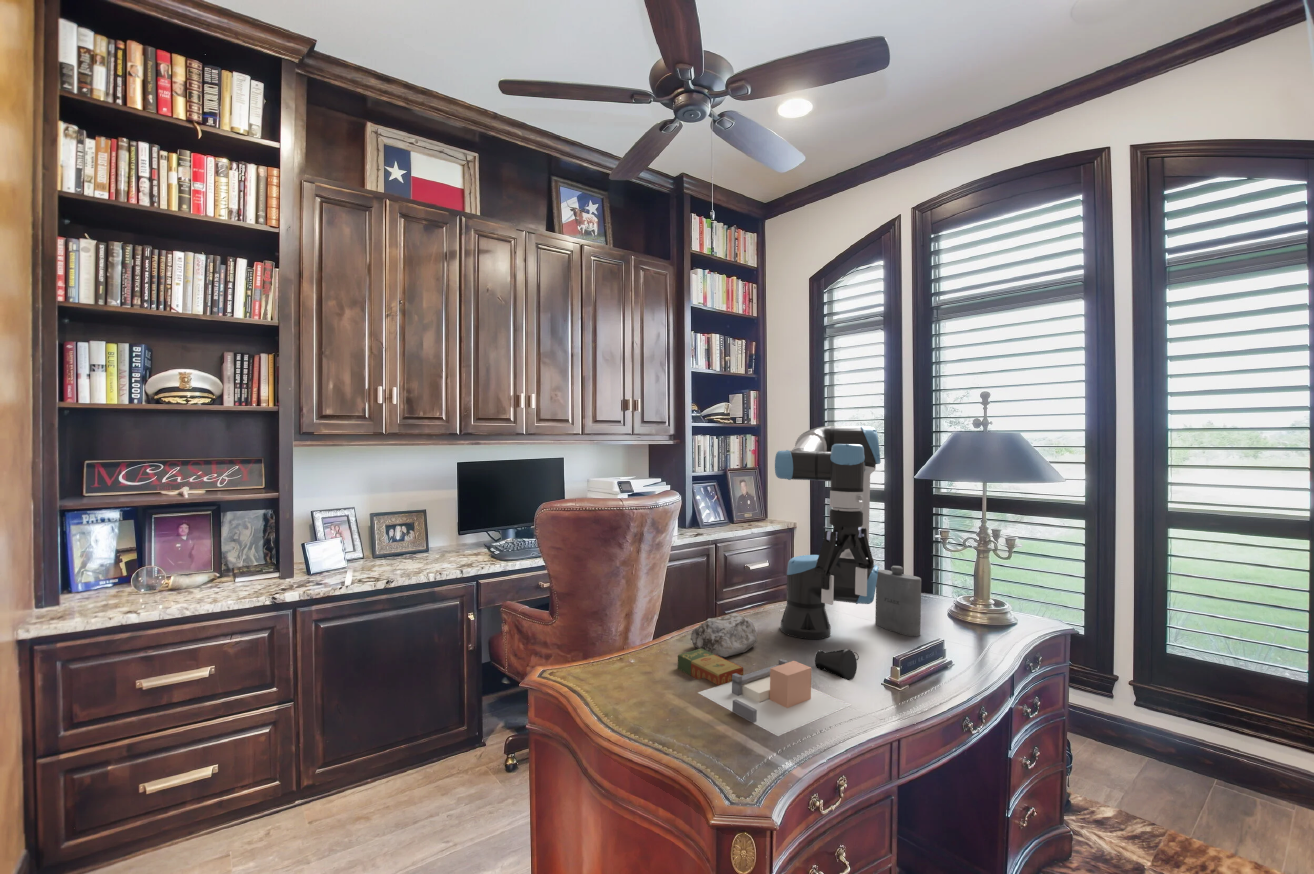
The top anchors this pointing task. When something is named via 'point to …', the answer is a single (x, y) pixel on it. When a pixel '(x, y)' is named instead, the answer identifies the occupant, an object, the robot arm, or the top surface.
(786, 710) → the board
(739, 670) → the carton
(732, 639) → the decorative stone
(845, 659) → the black tapered cylinder
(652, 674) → the top surface
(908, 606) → the flask
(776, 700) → the block
